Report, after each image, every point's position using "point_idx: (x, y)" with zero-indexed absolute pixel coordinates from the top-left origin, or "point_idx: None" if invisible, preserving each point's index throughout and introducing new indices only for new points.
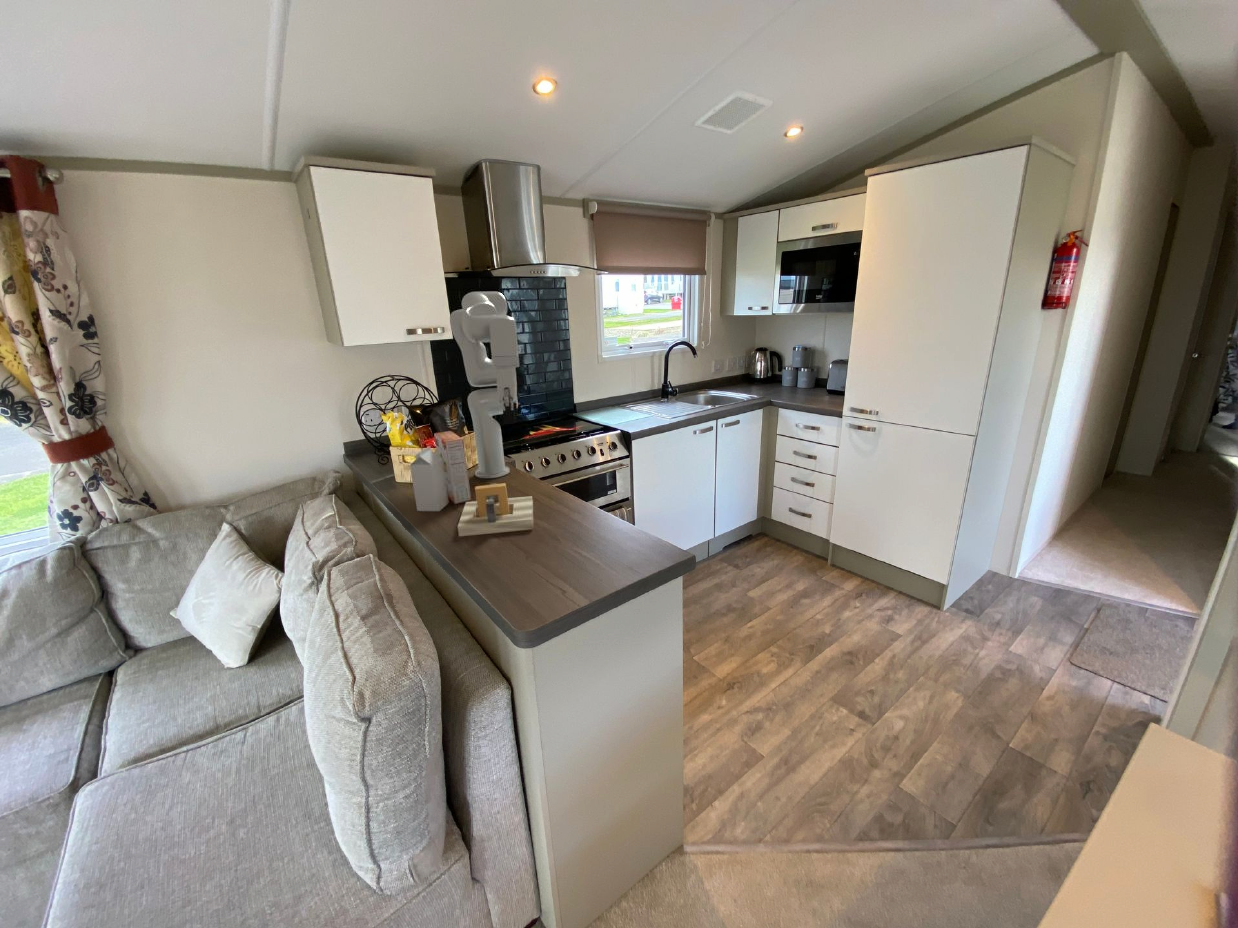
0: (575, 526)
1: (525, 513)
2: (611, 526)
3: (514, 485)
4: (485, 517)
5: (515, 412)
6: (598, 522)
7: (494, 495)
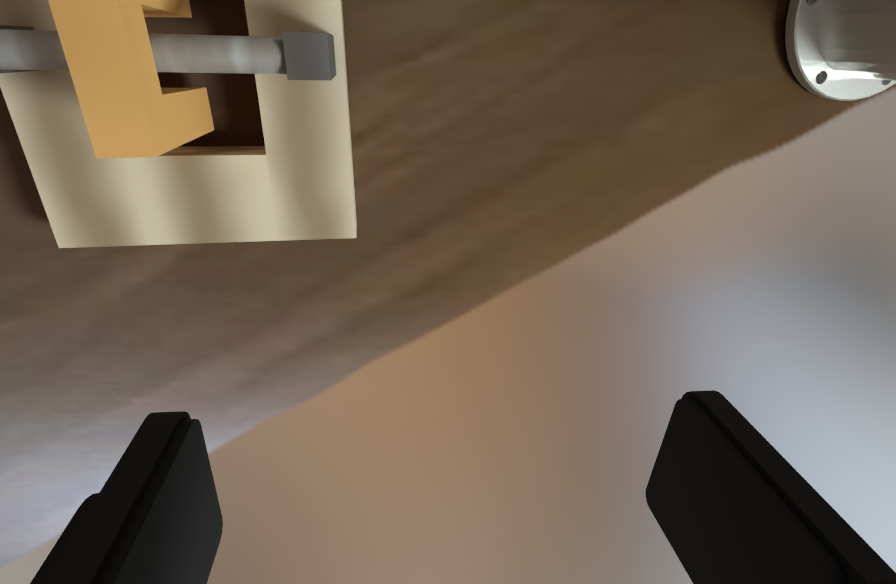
0: (117, 374)
1: (129, 215)
2: None
3: (632, 131)
4: None
5: (671, 523)
6: None
7: None
